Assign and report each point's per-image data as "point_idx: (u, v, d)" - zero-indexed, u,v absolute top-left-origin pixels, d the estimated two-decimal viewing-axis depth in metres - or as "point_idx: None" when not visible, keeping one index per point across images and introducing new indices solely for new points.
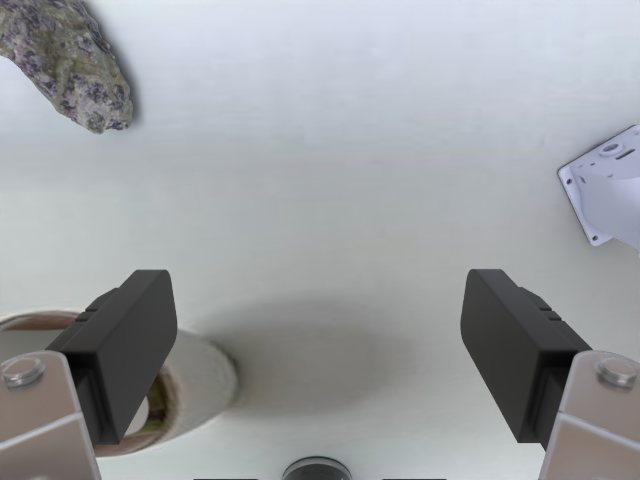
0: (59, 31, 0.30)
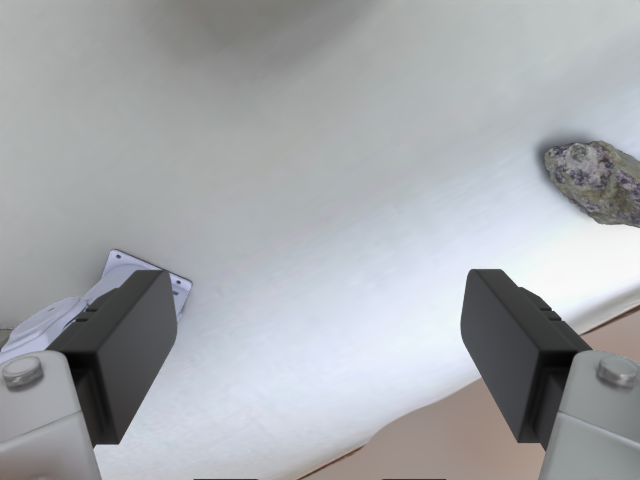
0: (613, 212, 0.38)
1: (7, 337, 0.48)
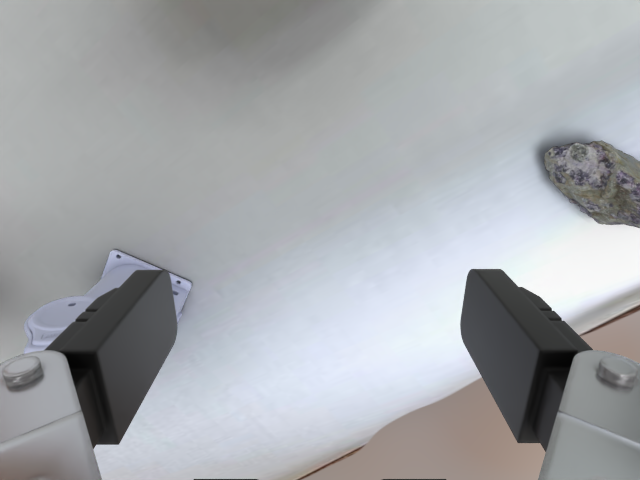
0: (613, 212, 0.38)
1: None
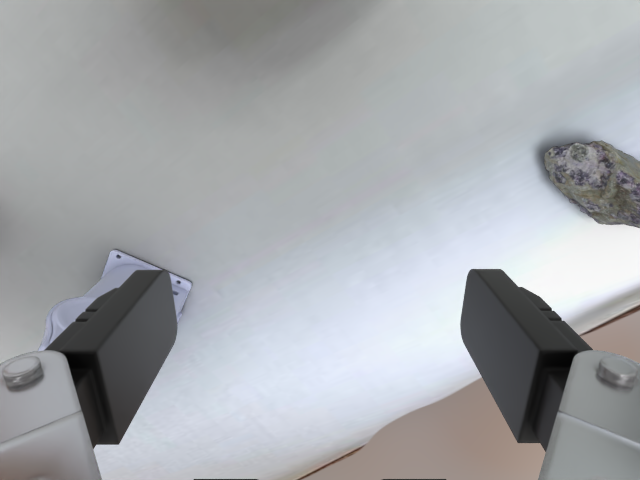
0: (613, 212, 0.38)
1: None
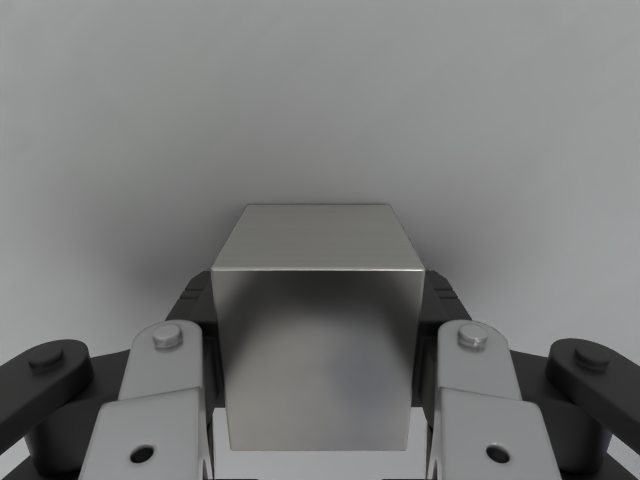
0: None
1: None
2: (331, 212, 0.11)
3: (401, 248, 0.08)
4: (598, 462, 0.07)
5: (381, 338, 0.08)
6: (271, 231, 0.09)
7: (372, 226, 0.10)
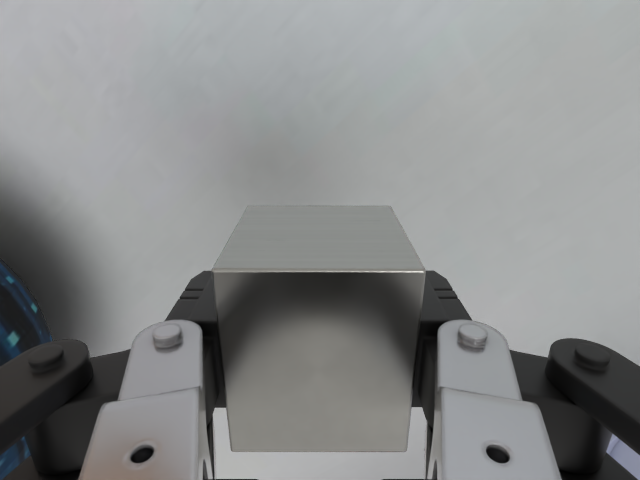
0: None
1: None
2: (331, 214, 0.11)
3: (401, 249, 0.08)
4: (598, 462, 0.07)
5: (381, 339, 0.08)
6: (272, 233, 0.09)
7: (372, 227, 0.10)
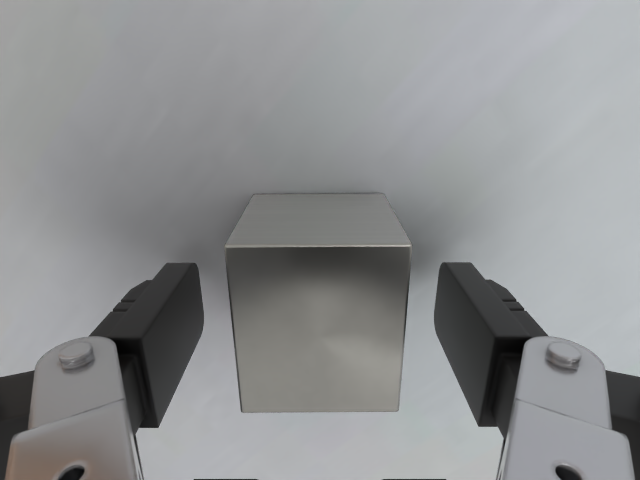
0: None
1: None
2: (330, 200, 0.12)
3: (392, 228, 0.10)
4: None
5: (375, 307, 0.09)
6: (276, 216, 0.10)
7: (367, 211, 0.11)
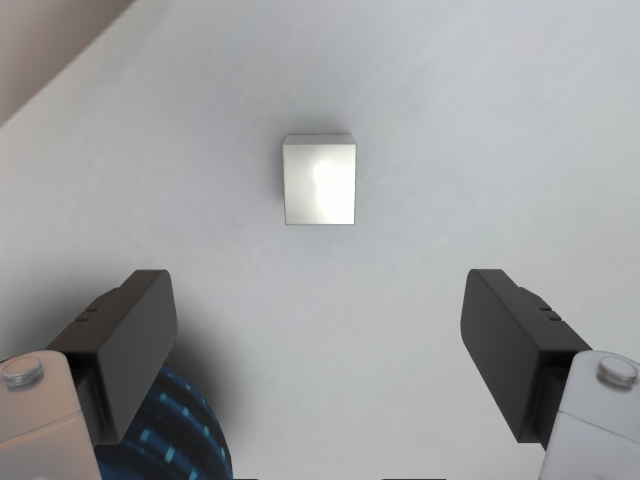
0: None
1: None
2: (324, 135, 0.25)
3: (350, 141, 0.23)
4: None
5: (342, 172, 0.23)
6: (300, 139, 0.24)
7: (341, 138, 0.24)
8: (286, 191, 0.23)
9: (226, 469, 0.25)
